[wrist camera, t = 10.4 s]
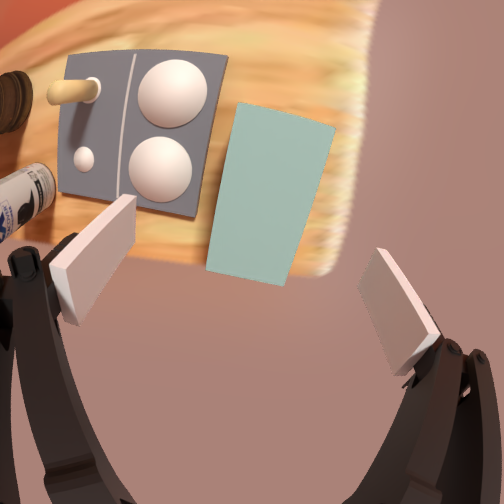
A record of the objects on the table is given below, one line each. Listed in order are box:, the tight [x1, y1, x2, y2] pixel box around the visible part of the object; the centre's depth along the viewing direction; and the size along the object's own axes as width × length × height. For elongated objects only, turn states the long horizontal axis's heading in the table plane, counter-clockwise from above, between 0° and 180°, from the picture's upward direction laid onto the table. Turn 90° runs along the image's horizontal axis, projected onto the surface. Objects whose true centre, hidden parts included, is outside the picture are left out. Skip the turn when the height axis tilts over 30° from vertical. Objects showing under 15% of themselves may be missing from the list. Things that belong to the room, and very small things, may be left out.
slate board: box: [47, 49, 229, 217], centre depth 22 cm, size 18×17×7 cm
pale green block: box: [205, 102, 336, 286], centre depth 23 cm, size 7×13×9 cm, turn 167°
